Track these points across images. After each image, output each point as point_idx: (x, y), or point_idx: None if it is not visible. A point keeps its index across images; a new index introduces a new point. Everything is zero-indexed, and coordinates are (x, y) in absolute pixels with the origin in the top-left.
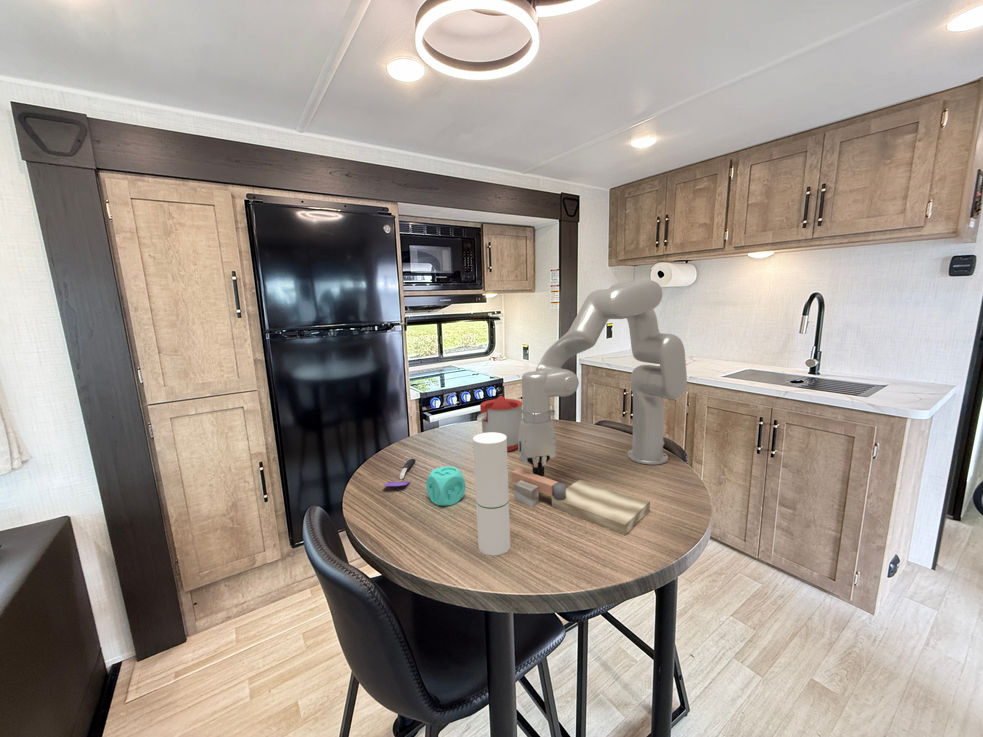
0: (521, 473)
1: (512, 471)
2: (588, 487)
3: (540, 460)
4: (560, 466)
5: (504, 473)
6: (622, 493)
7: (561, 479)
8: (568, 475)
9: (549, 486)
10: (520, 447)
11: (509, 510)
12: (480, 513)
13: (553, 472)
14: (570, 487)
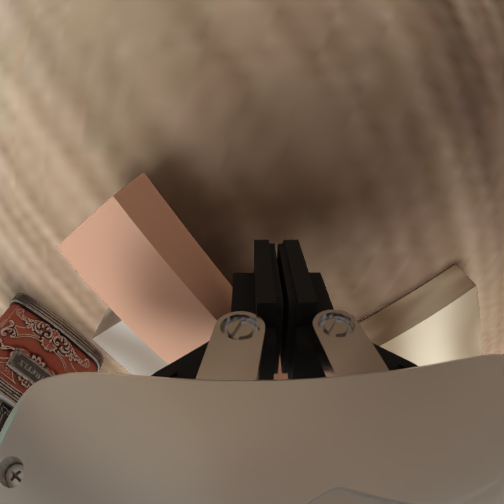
0: (130, 302)
1: (65, 247)
2: (446, 353)
3: (321, 366)
4: (488, 15)
5: None
6: None
7: (441, 151)
8: (485, 126)
9: None
10: (20, 432)
11: (98, 369)
12: None
13: (440, 50)
14: (393, 346)
